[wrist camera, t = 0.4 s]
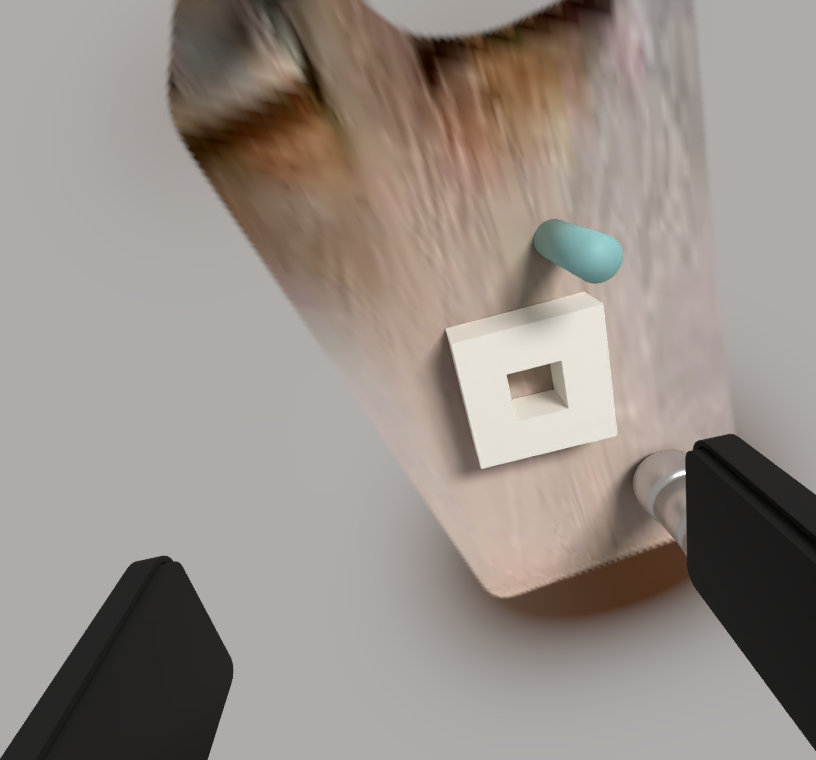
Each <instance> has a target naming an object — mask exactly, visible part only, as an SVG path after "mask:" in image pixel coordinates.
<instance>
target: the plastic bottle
mask: <svg viewBox="0 0 816 760" xmlns="http://www.w3.org/2000/svg"><path fill="white" fill-rule="evenodd" d="M685 456H686V453H684V452H682V451H677V450H665V451H660V452H656V453H654V454H652V455H650V456H648V457H647V458H645V459H644V460H643V461H642V462H641V463H640V465H639V466H638V468H637V469H636V471H635V474H634V478H633V490H634V493H635V495H636V497H637V499H638V502H639V504H640V505H641V506H642V508H643V509H644V510H645V511H646V512H647V513H648V514H649V515H650V516H652V517H653V518H654V519H655V520H657V521H658V522H659V523H660V524H661V525H662V526H663V527H664V528H665V529H666V530H667V531H668V533H669V534H670V535H671V536H672V537H673V538H674V539H675V540H676V541H677V542H678V544H679V545H680V547H681V549H682V550H683V551H684V553H685V554H686V556H687V529H686V477H685Z"/></svg>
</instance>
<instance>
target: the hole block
mask: <svg viewBox="0 0 816 760" xmlns="http://www.w3.org/2000/svg"><path fill="white" fill-rule="evenodd" d="M445 330H446V334H447V338H448V342H449V346H450V350H451V354H452V358H453V362H454V366H455V370H456V374H457V378H458V383H459V387H460V391H461V395H462V399H463V403H464V407H465V411H466V415H467V419H468V423H469V427H470V431H471V436H472V440H473V444H474V447H475V450H476V454H477V457H478V460H479V463H480V466H481V469H483V468H487V467H491V466H495V465H499V464H504V463H508V462H512V461H516V460H520V459H524V458H528V457H532V456H536V455H540V454H544V453H548V452H552V451H557V450H561V449H565V448H569V447H573V446H577V445H581V444H585V443H589V442H593V441H597V440H601V439H606V438H610V437H614V436H617V427H616V418H615V409H614V399H613V390H612V381H611V371H610V362H609V352H608V343H607V334H606V324H605V315H604V306H603V304H602V303H601V302H599V301H598V300H596V299H595V298H593V297H592V296H590V295H588V294H587V293H585V292H581V293H578V294H574V295H570V296H566V297H563V298H559V299H555V300H551V301H548V302H544V303H540V304H536V305H533V306H529V307H525V308H521V309H517V310H514V311H510V312H506V313H502V314H499V315H495V316H491V317H487V318H484V319H480V320H476V321H472V322H468V323H465V324H461V325H457V326H453V327H450V328H446V329H445ZM546 364H550V368H551V374H552V380H553V387H554V389H552V390H548V391H544V392H540V393H536V394H532V395H528V396H524V397H521V398H517V399H513V400H511V395H510V390H509V385H508V380H507V374H511V373H515V372H519V371H523V370H527V369H531V368H534V367H538V366H542V365H546Z"/></svg>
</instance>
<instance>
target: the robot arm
mask: <svg viewBox="0 0 816 760" xmlns="http://www.w3.org/2000/svg"><path fill="white" fill-rule="evenodd" d="M685 477H686V529H687V568H688V573H689V576H690V579H691V581H692V583H693V585H694V587H695V588H696V590H697V591H698V593H699V594H700V595H701V596H702V598H703V599H704V600H705V602H706V603H707V605H708V606H709V607H710V609H711V610H712V612H713V613H714V614H715V616H716V617H717V618H718V620H719V621H720V622H721V623H722V625H723V626H724V628H725V629H726V630H727V632H728V633H729V634H730V636H731V637H732V638H733V640H734V641H735V643H736V644H737V645H738V647H739V648H740V649H741V651H742V652H743V653H744V655H745V656H746V657H747V659H748V660H749V661H750V662H751V664H752V666H753V667H754V668H755V670H756V671H757V672H758V674H759V675H760V676H761V678H762V679H763V680H764V682H765V683H766V684H767V686H768V687H769V688H770V690H771V691H772V693H773V694H774V695H775V697H776V698H777V699H778V701H779V702H780V703H781V705H782V706H783V707H784V709H785V710H786V712H787V713H788V714H789V716H790V717H791V718H792V719H793V721H794V722H795V724H796V725H797V726H798V728H799V729H800V730H801V731H802V733H803V734H804V736H805V737H806V738H807V740H808V741H809V743H810V744H811V745H812V747H813V748H814V749H815V751H816V495H815V494H814V493H813V492H811V491H810V490H808V489H807V488H806V487H805V486H803V485H802V484H801V483H799V482H798V481H797V480H795V479H794V478H792V477H791V476H790V475H789V474H787V473H786V472H785V471H783V470H782V469H781V468H779V467H778V466H777V465H775V464H774V463H773V462H771V461H770V460H769V459H767V458H766V457H765V456H763V455H762V454H760V453H759V452H758V451H757V450H755V449H754V448H752V447H751V446H750V445H748V444H747V443H746V442H745V441H743V440H742V439H741V438H739V437H738V436H736V435H734V434H727V435H722V436H718V437H713V438H708V439H704V440H699V441H697V442H695V444H694V446H693V451H689V452H687V453H686V456H685ZM232 679H233V663H232V660H231V657H230V655H229V654H228V651H227V650H226V648H225V646H224V644H223V642H222V640H221V638H220V636H219V634H218V632H217V631H216V629H215V627H214V625H213V623H212V621H211V619H210V617H209V615H208V614H207V612H206V610H205V608H204V606H203V604H202V602H201V600H200V598H199V597H198V595H197V593H196V591H195V589H194V587H193V585H192V583H191V581H190V580H189V578H188V576H187V574H186V572H185V570H184V568H183V567H182V565H181V564H180V563H179V562H175V561H174V562H173V560H172V559H171V558H170V557H168V556H160V557H155V558H150V559H146V560H141V561H136V562H134V563H132V564H131V565H130V566H129V567H128V568H127V570H126V571H125V573H124V574H123V576H122V577H121V579H120V580H119V582H118V583H117V585H116V586H115V588H114V589H113V591H112V592H111V594H110V595H109V597H108V598H107V600H106V601H105V603H104V604H103V606H102V607H101V609H100V610H99V612H98V613H97V615H96V616H95V618H94V619H93V621H92V622H91V624H90V625H89V627H88V628H87V630H86V631H85V633H84V634H83V636H82V637H81V639H80V640H79V642H78V643H77V645H76V646H75V648H74V649H73V651H72V652H71V653H70V655H69V657H68V658H67V660H66V661H65V662H64V664H63V665H62V667H61V669H60V670H59V672H58V673H57V675H56V676H55V677H54V679H53V680H52V682H51V683H50V685H49V686H48V688H47V689H46V691H45V692H44V694H43V696H42V697H41V698H40V700H39V701H38V703H37V704H36V706H35V707H34V709H33V711H32V712H31V713H30V715H29V716H28V718H27V719H26V721H25V722H24V724H23V725H22V727H21V728H20V730H19V731H18V733H17V734H16V736H15V737H14V739H13V740H12V742H11V743H10V745H9V746H8V748H7V749H6V751H5V752H4V754H3V756H2V757H1V758H0V760H208V757H209V753H210V750H211V747H212V744H213V741H214V737H215V734H216V731H217V728H218V724H219V721H220V718H221V714H222V712H223V709H224V705H225V702H226V699H227V696H228V692H229V689H230V686H231V683H232Z"/></svg>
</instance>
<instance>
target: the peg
mask: <svg viewBox="0 0 816 760" xmlns="http://www.w3.org/2000/svg"><path fill="white" fill-rule="evenodd" d="M534 247H535V249H536V251H537V252H538V253H539V254H540V255H541V256H543V257H545V258H546V259H548V260H550V261H552V262H553V263H555V264H557V265H558V266H560V267H562V268H564V269H565V270H567V271H569V272H571V273H572V274H574V275H576V276H577V277H579V278H581V279H583V280H584V281H586V282H589V283H602V282H604V281H607V280H608V279H610V278H611V277H613V276H614V275H615V274H616V272H617V271H618V269H619V268H620V266H621V263H622V258H623V252H622V248H621V246H620V244H619V242H618V241H617V240H616V239H614V238H613V237H611V236H608V235H605V234H602V233H599V232H595V231H592V230H589V229H586V228H583V227H580V226H577V225H573V224H570V223H567V222H564V221H561V220H557V219H552V220H548V221H546V222H544V223H542V224H541V225H540V226H539V227H538V229H537V230H536V232H535V235H534Z"/></svg>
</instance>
